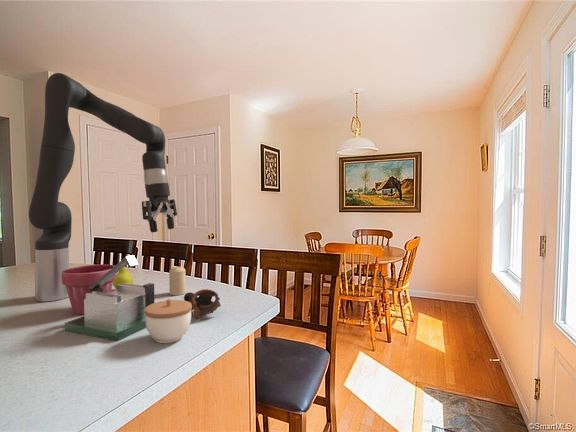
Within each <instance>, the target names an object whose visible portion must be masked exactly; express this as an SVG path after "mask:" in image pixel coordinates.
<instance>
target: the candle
mask: <svg viewBox="0 0 576 432" xmlns="http://www.w3.org/2000/svg"><path fill="white" fill-rule="evenodd" d="M168 273H169V279H168V280H169V295H170V296H182V295H185V294H186V293H187V291H186V284H187V283H186V280H187V279H186V268H185V267H183V266H182V265H181V266H177V265H176V266H175V265H174V266H172V267H171V268H170V270H169V272H168Z"/></svg>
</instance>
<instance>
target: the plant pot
mask: <svg viewBox="0 0 576 432" xmlns="http://www.w3.org/2000/svg"><path fill="white" fill-rule="evenodd" d="M114 266H115V265H114V264H108V263H107V264H106V263H105V264H89V265H80V266H74V267H69V269H66V270H63V271H62V284H63V285H66V289H67V293H68V296H69V297H68V299H69V303H70V305H71V306H70V307H71V310H72V313H74V314H76V315H84V299H86V293H88V291H89V290H90V289H89V287H90V286H92V285H93V284H94V283H95V282H97V281H98V280H99V279H100V278H101V277H102V276H104V275H105V274H106V273H107V272H108V271H110V270H111V269H112V268H113V267H114ZM116 275H117V273H116V274H115V275H114V276H113V277H111V278H110V279H109V280H108V281H107V282H105V283H104V284H103V285H102V286H101V287H99V288H103V292H104V293H107V292H111V291H112V288H113V280H114V279H115V278H116Z"/></svg>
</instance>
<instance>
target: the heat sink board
mask: <svg viewBox="0 0 576 432" xmlns="http://www.w3.org/2000/svg"><path fill="white" fill-rule="evenodd" d="M153 303H155V283H151V282H149V283H145V284H135V283H133V284H128V283H122V285H117V289H116V290H111V292H107V293H104V292H103V288H96V289H92V290H89V291H88V293H86V299H84V314H83V316H80V317H78V318H74V319H71V320H69V321H66V322H64V331H66V332H71V333H74V334H81V335H85V336H91V337H95V338H99V339H105V340H109V341H115V342H119V341H121V340H123V339H125V338H127V337H129V336H131V335H134V334H136V333H138V332H140V331H142V330H144V329H147V327H146V322H145V308H146V307H147V306H149V305H151V304H153Z"/></svg>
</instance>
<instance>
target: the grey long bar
mask: <svg viewBox="0 0 576 432" xmlns="http://www.w3.org/2000/svg"><path fill="white" fill-rule="evenodd" d="M138 265H139V263H138V261H137V259H136V257H135V255H133V254H132V255H128V256H127V255H126V256H125V257H123V258H122V259H121V260H120V261H119V262H118V263H116V265H114V267H113V268H112V269H111V270H110V271H108V272H107V273H106V274H105V275H104V276H102V277H101V278H100V279H99V280H98V281H97V282H95V283H94V284H93V285H92V286H90V287H89V289H90V290H92V289H96V288H99V287H101V286H102V285H103V284H104V283H105V282H107V281H108V280H109V279H110V278H111V277H113V276H114V275H115V274H116V275H117V274H118V272H119V271H120V270H121V269H122V268H123V267H126V266H127V267H128V268H132V267H137V266H138Z"/></svg>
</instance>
